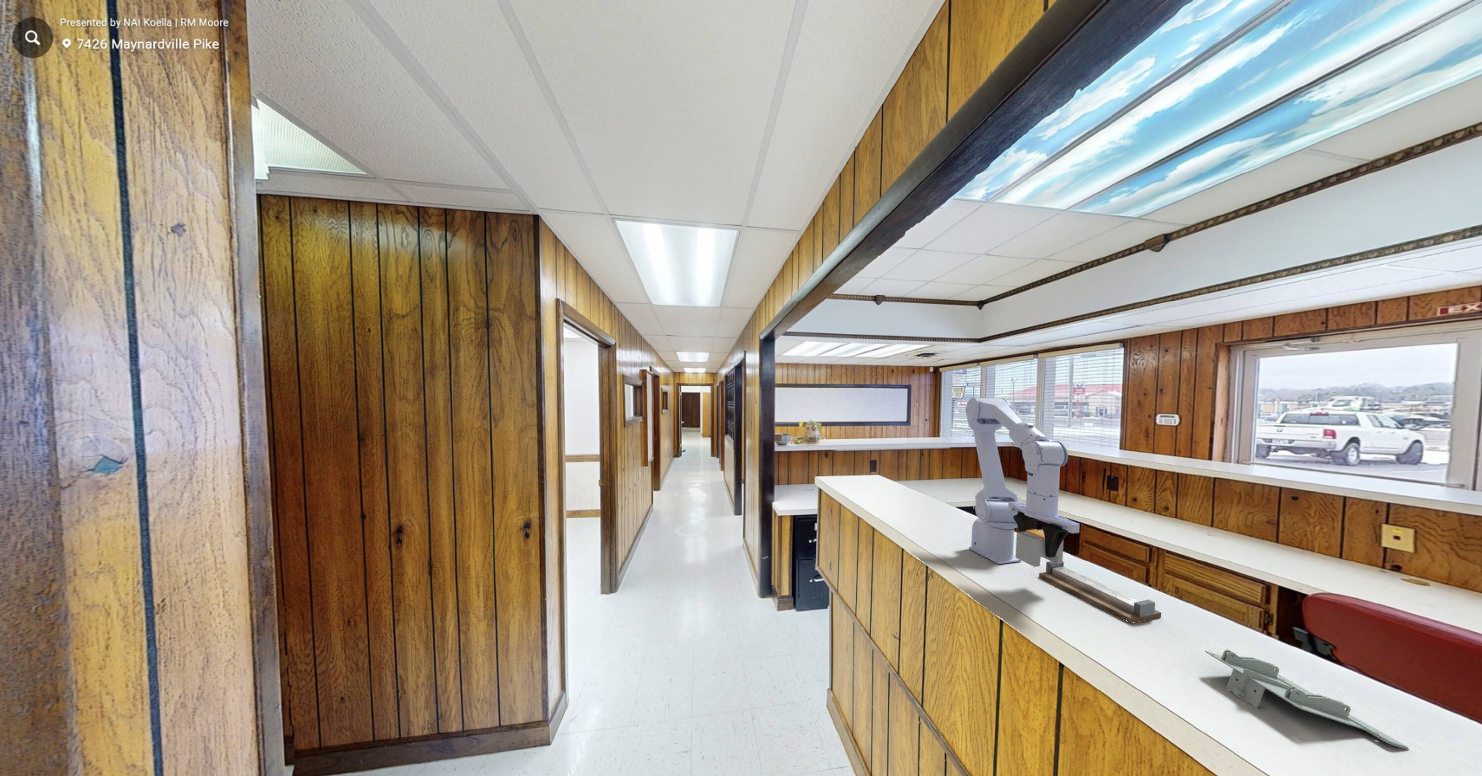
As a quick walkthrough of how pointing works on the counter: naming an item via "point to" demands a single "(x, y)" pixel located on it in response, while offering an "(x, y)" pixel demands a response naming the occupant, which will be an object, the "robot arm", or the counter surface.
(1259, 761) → the counter surface
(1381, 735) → the metal bracket
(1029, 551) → the block
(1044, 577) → the mounting plate
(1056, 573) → the din rail
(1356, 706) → the counter surface
